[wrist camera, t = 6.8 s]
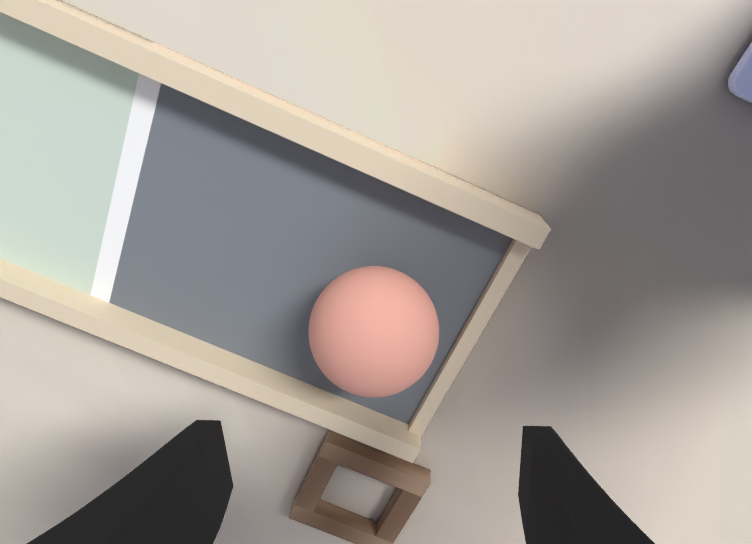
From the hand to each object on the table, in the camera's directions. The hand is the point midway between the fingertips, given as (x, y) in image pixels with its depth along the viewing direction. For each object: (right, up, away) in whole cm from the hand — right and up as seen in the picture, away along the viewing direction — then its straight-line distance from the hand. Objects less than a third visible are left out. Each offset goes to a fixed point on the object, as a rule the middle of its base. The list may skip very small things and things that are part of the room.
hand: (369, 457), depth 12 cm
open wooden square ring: (-1, -6, +12) cm, 13 cm away
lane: (-7, +7, +8) cm, 12 cm away
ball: (0, +2, +6) cm, 6 cm away
